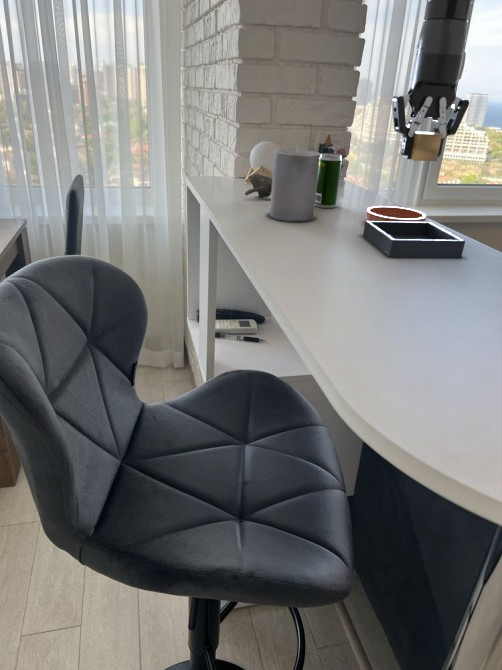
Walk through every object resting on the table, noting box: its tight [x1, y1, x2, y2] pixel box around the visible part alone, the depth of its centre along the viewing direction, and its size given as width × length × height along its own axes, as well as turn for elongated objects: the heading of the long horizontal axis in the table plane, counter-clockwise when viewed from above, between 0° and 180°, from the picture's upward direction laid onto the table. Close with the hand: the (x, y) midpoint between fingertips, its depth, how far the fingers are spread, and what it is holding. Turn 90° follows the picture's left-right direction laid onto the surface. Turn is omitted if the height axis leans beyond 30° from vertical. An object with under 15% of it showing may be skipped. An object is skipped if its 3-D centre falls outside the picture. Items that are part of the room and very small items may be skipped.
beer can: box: [315, 152, 343, 209], centre depth 121 cm, size 5×5×12 cm
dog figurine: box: [244, 173, 272, 198], centre depth 127 cm, size 12×6×7 cm, turn 91°
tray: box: [362, 220, 466, 259], centre depth 94 cm, size 14×14×3 cm
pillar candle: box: [269, 144, 321, 222], centre depth 108 cm, size 10×10×15 cm
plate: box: [364, 205, 427, 222], centre depth 108 cm, size 12×12×3 cm
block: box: [409, 131, 442, 162], centre depth 92 cm, size 4×4×4 cm
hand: (419, 158), depth 93 cm, fingers closed on block, 4 cm apart
